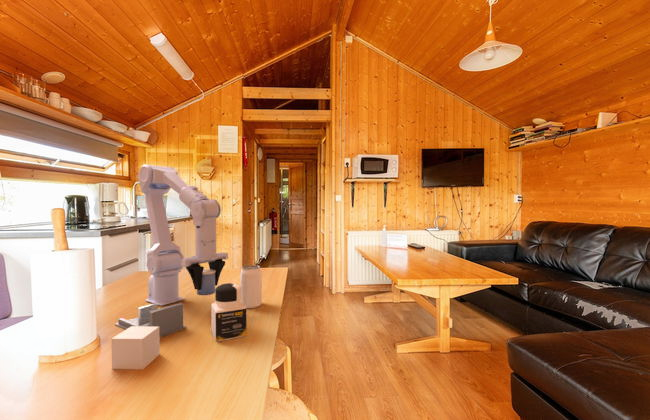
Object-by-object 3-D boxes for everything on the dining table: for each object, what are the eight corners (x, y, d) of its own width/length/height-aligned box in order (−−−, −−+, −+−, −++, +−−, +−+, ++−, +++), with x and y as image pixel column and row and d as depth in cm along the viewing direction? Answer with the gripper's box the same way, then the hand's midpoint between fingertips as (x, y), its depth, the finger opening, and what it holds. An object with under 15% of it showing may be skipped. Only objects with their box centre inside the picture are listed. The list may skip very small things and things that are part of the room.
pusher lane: (115, 324, 82) (114, 300, 82) (150, 314, 89) (149, 292, 89) (150, 340, 73) (150, 313, 72) (186, 327, 80) (186, 303, 80)
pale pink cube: (131, 354, 66) (131, 326, 66) (159, 354, 66) (159, 326, 66) (111, 369, 60) (111, 338, 60) (142, 369, 60) (142, 338, 60)
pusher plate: (138, 324, 80) (138, 307, 80) (155, 319, 84) (155, 303, 83) (140, 325, 79) (140, 308, 79) (157, 320, 83) (157, 303, 83)
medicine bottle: (215, 342, 72) (215, 290, 71) (211, 331, 78) (211, 283, 78) (246, 336, 75) (246, 286, 75) (240, 326, 81) (240, 280, 81)
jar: (192, 293, 91) (192, 271, 91) (208, 289, 96) (208, 268, 96) (204, 296, 89) (204, 274, 88) (219, 292, 93) (219, 270, 93)
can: (256, 309, 94) (256, 269, 94) (236, 308, 95) (236, 268, 95) (264, 302, 100) (264, 265, 100) (246, 301, 101) (246, 264, 101)
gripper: (192, 244, 83) (192, 295, 84) (234, 239, 96) (234, 283, 96) (176, 242, 87) (176, 291, 88) (219, 237, 99) (219, 280, 100)
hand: (206, 287), depth 92 cm, fingers closed on jar, 5 cm apart
